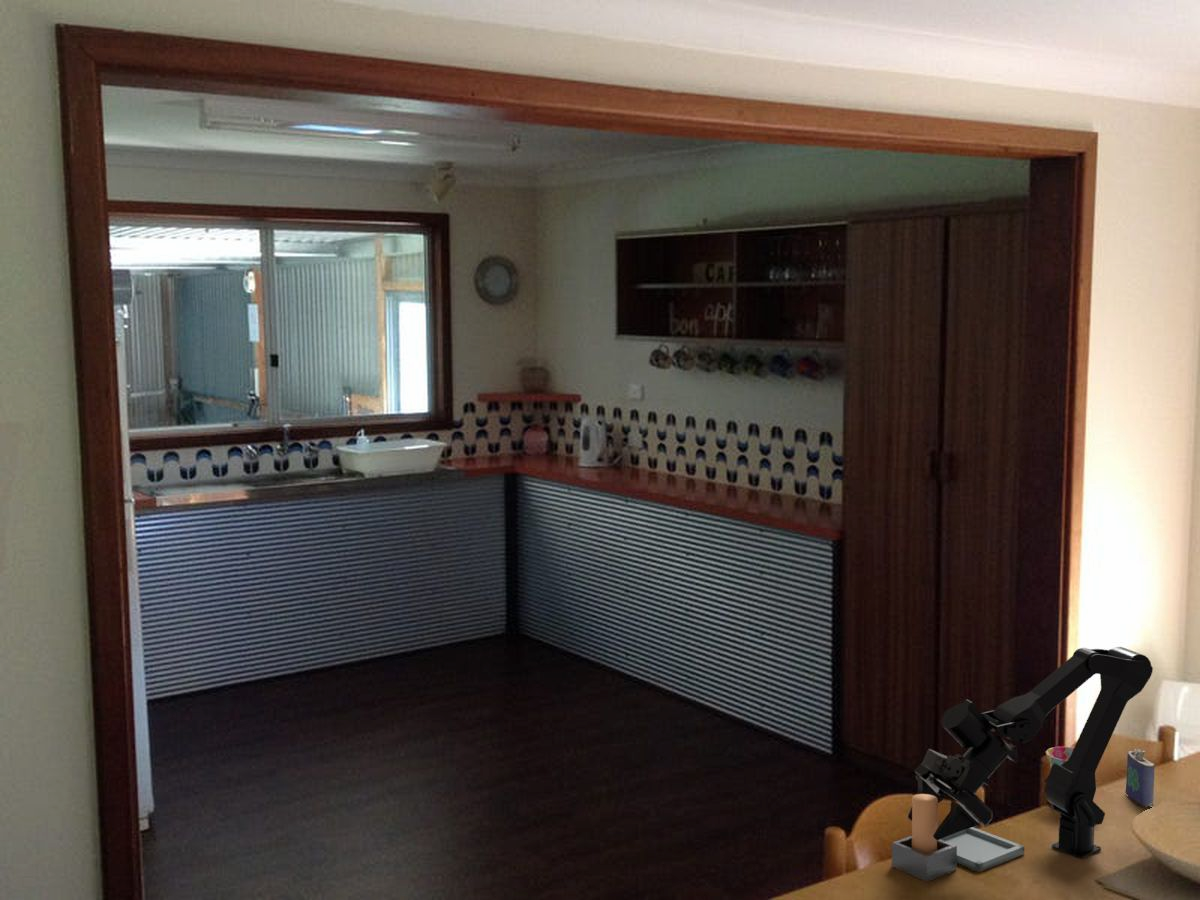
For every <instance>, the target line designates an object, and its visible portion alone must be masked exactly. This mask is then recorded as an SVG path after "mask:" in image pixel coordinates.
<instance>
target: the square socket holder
mask: <svg viewBox="0 0 1200 900" xmlns="http://www.w3.org/2000/svg"><path fill="white" fill-rule="evenodd" d="M957 864H958V863H957V846H956V845H953V844H951V843H948V842H946V841H943V840H941V839H940V840H937V851H935V852H932V853H929V854H925V853H922V852H920V851H917V850H915V849H912V835H910V836H907V837H904V838H901V839H898V840H896V841H893V842H892V843H891V867H892V866H893V867H892V868H894V867H895V868H894V869H896V868H898V869H897V870H899V869H900V870H899V871H901V870H902V871H901V872H903V871H904V872H903V873H905V872H906V874H908V873H909V874H908V875H910V874H911V875H910V876H912V875H913V876H912V877H914V878H918V879H920V880H922V881H924V882H926V883H927V882H930V881H932V880H935V879H938V878H940V877H943V876H945V875H944V874H946V875H947V873H948V874H950V873H949V872H951V873H953V872H955V871H954V870H956V871H957ZM952 871H953V872H952ZM942 875H943V876H942Z"/></svg>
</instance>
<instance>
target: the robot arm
mask: <svg viewBox="0 0 1200 900" xmlns="http://www.w3.org/2000/svg"><path fill="white" fill-rule="evenodd" d="M1153 669H1154V668H1153V666H1152V662H1151V660H1150V658H1149V657H1147V656H1146V655H1144V654H1142V653H1140V652H1136V651H1134V650H1132V649H1129V648H1125V647H1122V646H1115V647H1113V648H1110V649H1105V648H1104V649H1103V648H1102V649H1101V648H1092V649H1090V648H1087V647H1082V648H1077V649H1076V650H1075V651H1074V652H1073V654H1072V656H1071V657H1069V658H1068V659H1067V660H1066V661H1065V662H1063V663H1062V664H1061V665H1060V666H1059V667H1058V668H1056V669H1055V670H1054V671H1053V672H1052V673H1050V674H1049V675H1048V676H1047V677H1046V678H1044V679H1043V680H1042V681H1041V682H1040V683H1038V684H1037V685H1036V686H1035V687H1034V688H1032V689H1031V690H1029V691H1028V692H1027V693H1025V694H1021V695H1018V696H1015V697H1012V698H1010V699H1008V700H1007V701H1004V702H1003V703H1001V704H1000V705H998V706H997V707H995V709H993V710H988V711H985V712H981V711H980V710H979V709H978V707H977V705H976V704H975V703H974V702H973V701H970V700H969V699H965V700H964V701H963V702H962V703H958V704H955V705H954V706H952V707H951V708H948V709H946V711H945V712H944V713H943V715H942V717H941V719H940V720H941V721H940V723H941V727H942V728H943V729H945V731H946V732H947V733H949V735H950V736H951V737H953V739H954V740H955V741H956V742H957V743H958V744H959V745H960V746H961V747H962V748H964V749H967V751H966V752H965V753H964V754H963V755H962V754H960V753H957V754H955V755H951V754H950V755H948V756H947V755H946V754H945V755H944V754H942V753H940V752H937V751H935V750H934V749H931V748H928V749H927V751H926V754H925V756H924V758H923V761H922V763H920V764H919V765H918V766H917V767H916V768H915V770H914V772H915V774H916V775H915V779H916V780H917V787H918V789H917V793H916V795H917V794H929V795H933V796H935V797H937V798H938V804H939V803H941V802H942V801H943V800H944V799H943V797H944V796H947V795H948V796H949V797H951V798H952V799H951V801H950V810H949V813H947V815H946V816H945V818H944V819H943V820H942V821H941V823H940V824H939V825H938V826H937V830H936V831H935V833H934V835H933V837H934V838H935V839H936V840H940V839H942V838H944V837H947V836H949V835H952V834H954V833H957V832H959V831H962V830H965V829H968V828H971V827H974V828H975V827H976V828H979V827H981V825H983V826H985V827H987V825H989V823H990V822H991V821H992V820H993V812H994V811H993V810H992V809H991V808H990V807H989V806H988V805H987V804H986V803H985V802H984V801H983V800H982V799H981V798H980V797H979V796H978V795H976V794H977V792H978V791H979V789H981V787H982V786H983V785H986V786H987V787H989V786H990V785H991V784H992V783H993V781H992V780H991V779H990V777H991V776H992V775H993V773H994V772H995V771H996V770H997V769H998V768H999V766H1000V765H1001V764H1002V763H1003V762H1004V761H1005V759H1008V760H1010V761H1012V762H1014V763H1018V761H1019V756H1018V753H1017V752H1018V747H1017V746H1016V745H1014V744H1012V743H1007V742H1006V741H1005V740H1004V739H1003V738H1002V737H1004V738H1007V739H1009V740H1010V741H1012V742H1014V743H1016V744H1026V743H1029V741H1031V740H1032V739H1033V738H1034V737H1035V736H1036V734H1037V733H1038V732H1039V731H1040V730H1041V728H1043V726H1044V723H1045V720H1046V717H1047V716H1048V714H1049V713H1050V712H1051V711H1053V710H1054V709H1055V708H1056V707H1057V706H1058V705H1060V704H1061V703H1062V702H1064V701H1065V700H1066V699H1067V698H1068V697H1069V696H1071V695H1072V694H1073V693H1074V692H1076V691H1077V690H1078V689H1079V688H1080V687H1081V686H1082V685H1083V684H1085V683H1086V682H1088V681H1089V679H1091V678H1092V677H1093V676H1094V675H1099V678H1100V679H1099V680H1100V691H1099V694H1098V695H1097V697H1096V699H1095V702H1094V704H1093V706H1092V708H1091V710H1090V713H1089V715H1088V717H1087V719H1086V721H1085V724H1084V726H1083V728H1082V730H1081V733H1080V735H1079V737H1078V738H1077V741H1076V743H1075V745H1074V749H1073V752H1072V754H1071V756H1070V758H1069V759H1068V760H1067V761H1066V762H1065V763H1063V764H1062V765H1061V766H1060V765H1058V764H1056V763H1054V764H1053V765H1052V767H1051V766H1050V771H1049V773H1048V776H1047V777H1046V779H1044V783H1045V786H1044V794H1045V797H1046V799H1048V800H1047V801H1048V803H1050V805H1051V808H1052V811H1054V812H1057V813H1058V814H1060V817H1059V826H1058V841H1057V842H1055V843H1053V844H1051V848H1052V849H1055V850H1057V851H1060V852H1062V853H1065V854H1068V855H1070V856H1073V857H1077V858H1079V859H1083V858H1085V857H1086V858H1087V857H1088V856H1091V855H1093V854H1096V853H1098V852H1100V851H1101V850H1102V847H1100V846H1099V845H1096V844H1094V843H1095V827H1096V826H1097V825H1102V824H1103V821H1104V819H1105V815H1106V813H1105V811H1103V810H1102V809H1101V807H1099V806H1098V804H1097V803H1095V802H1094V799H1095V796H1096V795H1095V794H1096V791H1097V781H1096V771H1097V768H1098V766H1099V764H1100V763H1101V760H1102V758H1103V755H1104V753H1105V752H1106V749H1107V747H1108V745H1109V743H1110V740H1111V738H1112V736H1113V734H1114V731H1115V730H1116V727H1117V725H1118V723H1119V721H1120V718H1121V716H1122V714H1123V712H1124V711H1125V707H1126V706H1127V704H1128V702H1130V700H1131V699H1132V698H1134V697H1135V696H1137V695H1138V694H1139V693H1141V692H1142V691H1143V689H1144V688H1145V687H1146V684H1147V683H1148V682H1149V680H1150V678H1151V677H1152V674H1153ZM991 732H993V733H996V734H992V733H991ZM956 801H957V802H956ZM907 818H908V819H909V820H910V821H911V822H912V806H911V808H910V810H909V813H908V815H907Z"/></svg>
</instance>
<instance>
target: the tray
mask: <svg viewBox="0 0 1200 900" xmlns="http://www.w3.org/2000/svg"><path fill="white" fill-rule="evenodd" d="M941 840H943V841H946V842H948V843H951V844H953V845H956V846H957V864H958V863H959V864H958V865H960V864H961V865H960V866H963V865H964V866H963V867H965V866H966V867H965V868H967V867H968V868H967V869H970V868H971V869H970V870H972V869H974V870H973V871H975V870H976V871H975V872H977V871H978V873H981V872H983V871H982V870H984V871H986V870H989V869H991V868H994V867H996V866H998V865H1001V864H1003V863H1006V862H1008V861H1011V860H1014V859H1015V858H1019V857H1021V856H1023V855H1025V846H1024V845H1021V844H1018V843H1017V842H1015V841H1014V842H1013V841H1011V840H1008V839H1006V838H1004V837H1000V836H998V835H995V834H992V833H990V832H987V831H984V830H981V829H980V828H978V827H975V826H974V827H971V828H968V829H965V830H962V831H959V832H957V833H954V834H952V835H949V836H947V837H944V838H942V839H941ZM993 866H994V867H993ZM988 868H989V869H988ZM985 869H986V870H985ZM980 871H981V872H980Z"/></svg>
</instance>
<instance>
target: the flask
mask: <svg viewBox="0 0 1200 900" xmlns="http://www.w3.org/2000/svg"><path fill="white" fill-rule="evenodd" d="M1145 754H1146V751H1145V749H1144V750H1141V749H1139V748H1135V749H1134V751H1133V750H1132V751H1131V750H1129V751H1128V752H1127V758H1126V759H1127V760H1126V779H1125V780H1126V781H1125V782H1126V783H1125V790H1124V791H1125V793H1126V794H1127V795H1128V797H1129V798H1130V799H1131V801H1132V800H1133V801H1134V802H1133V801H1132V802H1133V803H1135V804H1136V803H1137V805H1138V806H1139V805H1140V807H1142V808H1143V807H1144V809H1148V808H1147V807H1149V806H1153V807H1154V800H1155V799H1154V788H1155V786H1154V785H1155V782H1154V781H1155V768H1156V765H1155V763H1154V762H1151V761H1149V760H1148V759H1146V758H1145ZM1125 793H1124V794H1125ZM1126 794H1125V795H1126ZM1128 797H1127V798H1128ZM1129 798H1128V799H1129ZM1130 799H1129V800H1130Z"/></svg>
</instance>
